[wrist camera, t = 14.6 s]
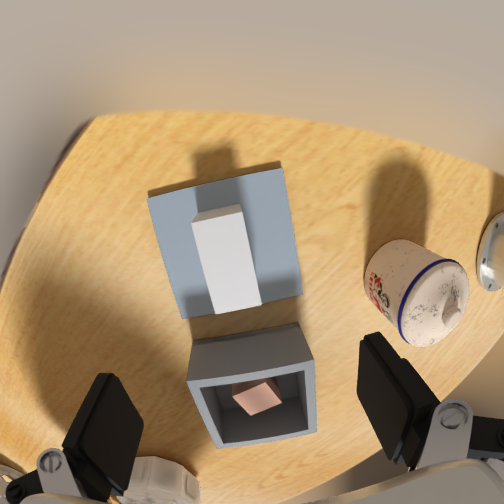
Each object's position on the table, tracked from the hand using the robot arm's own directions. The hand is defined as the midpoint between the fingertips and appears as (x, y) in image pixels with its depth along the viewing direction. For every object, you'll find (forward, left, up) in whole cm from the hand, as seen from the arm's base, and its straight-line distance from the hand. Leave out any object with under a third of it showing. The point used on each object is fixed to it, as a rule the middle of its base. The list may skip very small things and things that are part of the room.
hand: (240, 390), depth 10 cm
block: (0, +16, -18) cm, 24 cm away
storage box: (0, +16, -19) cm, 25 cm away
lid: (0, 0, -20) cm, 20 cm away
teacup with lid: (-19, +8, -20) cm, 28 cm away
